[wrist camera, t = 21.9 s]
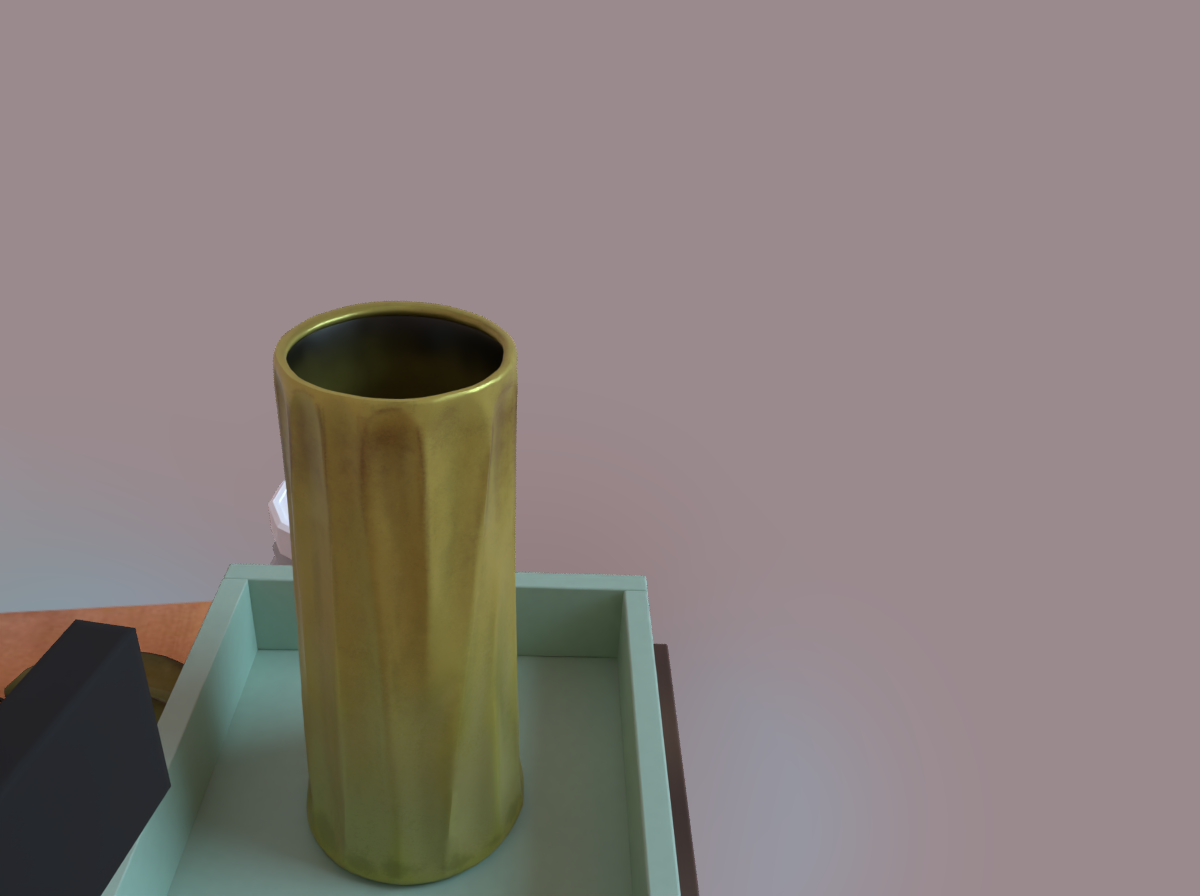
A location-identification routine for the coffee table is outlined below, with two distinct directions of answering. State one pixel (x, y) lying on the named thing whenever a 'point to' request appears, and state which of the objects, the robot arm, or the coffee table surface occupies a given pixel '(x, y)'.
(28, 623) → the coffee table surface
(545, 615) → the tray
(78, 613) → the coffee table surface
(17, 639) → the coffee table surface
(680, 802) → the pedestal
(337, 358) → the vase
